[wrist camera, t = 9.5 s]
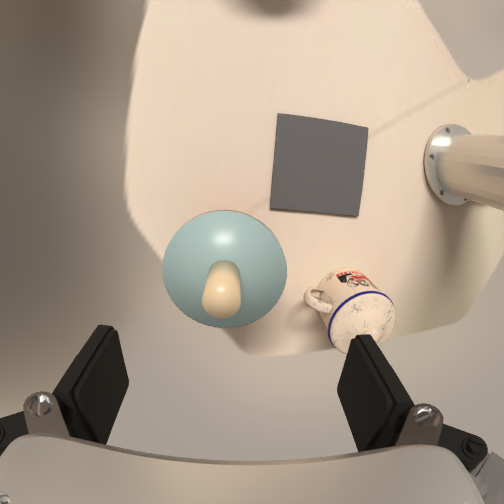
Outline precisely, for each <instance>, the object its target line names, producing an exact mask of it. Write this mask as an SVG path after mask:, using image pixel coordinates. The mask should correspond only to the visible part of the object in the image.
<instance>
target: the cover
mask: <svg viewBox="0 0 504 504" xmlns="http://www.w3.org/2000/svg"><path fill="white" fill-rule="evenodd" d="M286 277H287V267H286V260H285V256H284V253H283V251H282V248H281V246H280V244H279V242H278V240H277V238H276V237H275V235H274V234H273V233H272V231H271V230H270V229H269V228H268V227H267V226H266V225H265V224H263V223H262V222H260V221H259V220H258V219H256V218H254V217H252V216H250V215H247V214H245V213H242V212H238V211H232V210H216V211H210V212H207V213H203V214H201V215H198V216H196V217H194V218H193V219H191V220H189V221H188V222H187V223H185V224H184V225H183V226H182V227H181V228H180V229H179V230H178V231H177V232H176V234H175V235H174V237H173V238H172V240H171V241H170V243H169V245H168V247H167V249H166V252H165V255H164V259H163V280H164V283H165V287H166V290H167V292H168V294H169V296H170V298H171V299H172V301H173V302H174V303H175V305H176V306H177V307H178V308H179V309H180V310H181V311H182V312H183V313H184V314H186V315H187V316H188V317H190V318H192V319H193V320H195V321H197V322H199V323H202V324H205V325H208V326H212V327H218V328H233V327H240V326H244V325H247V324H249V323H252V322H254V321H256V320H258V319H260V318H261V317H263V316H264V315H265V314H267V313H268V312H269V311H270V310H271V309H272V308H273V307H274V305H275V304H276V303H277V301H278V300H279V298H280V296H281V294H282V292H283V290H284V287H285V283H286Z"/></svg>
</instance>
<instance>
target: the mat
mask: <svg viewBox="0 0 504 504" xmlns="http://www.w3.org/2000/svg"><path fill="white" fill-rule="evenodd" d="M367 138H368V128H367V127H362V126H357V125H352V124H347V123H342V122H336V121H330V120H324V119H318V118H311V117H304V116H297V115H289V114H280V113H278V116H277V128H276V140H275V152H274V164H273V175H272V187H271V198H270V208H276V209H289V210H300V211H312V212H323V213H333V214H343V215H352V216H358V215H359V208H360V201H361V194H362V186H363V178H364V169H365V160H366V150H367Z"/></svg>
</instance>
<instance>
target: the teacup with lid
mask: <svg viewBox="0 0 504 504" xmlns="http://www.w3.org/2000/svg"><path fill="white" fill-rule="evenodd" d="M304 300H305V302H306V303H307V304H308V305H309V306H310V307H311V308H313V309H315V310H317V311H318V312H319V314H320V316H321V318H322V320H323V322H324V324H325V326H326V329H327V331H328V336H329V339H330V342H331V343H332V345H333V346H334V347H335V348H336V349H338V350H339V351H341V352H343V353H345V354H347V353H348V349H349V345H350V342H351V339H353V338H355V336H356V335H362V334H370V335H371V336H372V337H373V339H374V340H375V342H376V344H377V345H378V346H380V345H381V344H382V343H383V342H384V341H385V340H386V339H387V338H388V336H389V335H390V333H391V331H392V329H393V327H394V324H395V308H394V305H393V303H392V301H391V300H390V298H389V297H388V296H386V295H385V294H383V293H381V292H380V291H379V290H378V288H377V287H376V286H375V285H374V284H373V283H372V282H371V281H370V280H369V279H368V278H367V277H366V276H365V275H364V274H363V273H362V272H360V271H359V270H356V269H353V268H342V269H338V270H335V271H333V272H331V273H330V274H328V275H327V276H326V277H325V278H324V279H323V280H322V281H321V283H320V284H319V286H318V288H309V289H307V290H306V292H305V294H304Z"/></svg>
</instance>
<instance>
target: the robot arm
mask: <svg viewBox="0 0 504 504" xmlns="http://www.w3.org/2000/svg"><path fill="white" fill-rule="evenodd" d="M424 166H425V173H426V177H427V181H428V183H429V186H430V188H431V190H432V191H433V193H434V194H435V195H436V196H437V197H438V198H439V199H440V200H441V201H443V202H445V203H447V204H450V205H462V204H464V203H466V202H468V201H469V200H471V201H475V202H478V203H481V204H484V205H487V206H490V207H493V208H496V209H499V210H502V211H504V136H497V135H474V134H471V133H470V132H469V131H468V130H467V129H466V128H464V127H462V126H460V125H456V124H447V125H443V126H441V127H439V128H438V129H436V130H435V131H434V133H433V134H432V135H431V137H430V139H429V141H428V143H427V146H426V150H425V157H424ZM128 385H129V379H128V375H127V371H126V367H125V363H124V358H123V354H122V350H121V345H120V340H119V335H118V332H117V331H116V330H114V328H113V327H112V326H107V325H98V326H97V328H96V329H95V331H94V332H93V333H92V335H91V336H90V338H89V339H88V341H87V342H86V344H85V345H84V346H83V348H82V349H81V351H80V352H79V354H78V355H77V356H76V357H75V359H74V360H73V362H72V363H71V365H70V366H69V368H68V370H67V371H66V373H65V374H64V376H63V377H62V379H61V380H60V382H59V383H58V385H57V386H56V388H55V390H54V391H53V393H52V394H51V393H48V392H44V391H41V392H36V393H33V394H31V395H30V396H29V397H28V398H27V399H26V400H25V402H24V405H23V410H24V411H22V412H19V413H16V414H12V415H9V416H6V417H3V418H0V504H504V459H503V458H501V457H500V456H498V455H497V454H495V453H494V452H491V454H489V453H488V451H487V450H488V448H487V445H486V443H485V441H484V440H483V439H482V438H480V437H478V436H476V435H473V434H470V433H467V432H465V431H462V430H459V429H456V428H454V427H451V426H448V425H445V424H443V415H442V413H441V412H440V410H439V409H437V408H436V407H435V406H432V405H430V404H424V403H423V404H417V405H414V403H413V401H412V400H411V398H410V396H409V395H408V393H407V391H406V390H405V388H404V386H403V385H402V383H401V381H400V380H399V378H398V376H397V375H396V373H395V372H394V370H393V368H392V367H391V365H390V364H389V363H388V361H387V360H386V358H385V356H384V355H383V353H382V351H381V350H380V348H379V347H378V345H377V344H376V342H375V340H374V339H373V337H372V336H371V335H370V334H362V335H356V336H355V338H353V339H351V342H350V345H349V349H348V353H347V356H346V360H345V363H344V367H343V370H342V373H341V377H340V380H339V383H338V387H337V392H338V396H339V399H340V401H341V404H342V407H343V410H344V412H345V415H346V418H347V420H348V424H349V426H350V429H351V432H352V435H353V438H354V441H355V443H356V446H357V449H358V452H356V453H349V454H342V455H335V456H327V457H318V458H309V459H308V458H307V459H296V460H277V461H225V460H207V459H194V458H183V457H174V456H166V455H159V454H152V453H145V452H140V451H134V450H129V449H124V448H119V447H114V446H109V445H106V443H107V441H108V438H109V435H110V433H111V430H112V427H113V424H114V422H115V419H116V417H117V414H118V411H119V409H120V406H121V404H122V401H123V399H124V396H125V394H126V391H127V388H128Z"/></svg>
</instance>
